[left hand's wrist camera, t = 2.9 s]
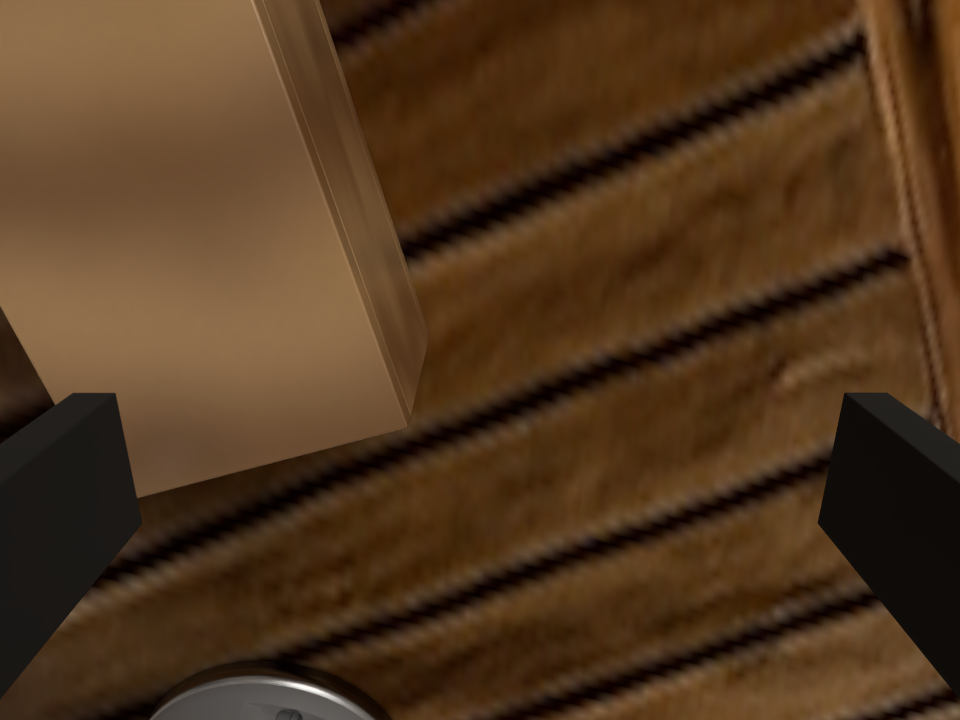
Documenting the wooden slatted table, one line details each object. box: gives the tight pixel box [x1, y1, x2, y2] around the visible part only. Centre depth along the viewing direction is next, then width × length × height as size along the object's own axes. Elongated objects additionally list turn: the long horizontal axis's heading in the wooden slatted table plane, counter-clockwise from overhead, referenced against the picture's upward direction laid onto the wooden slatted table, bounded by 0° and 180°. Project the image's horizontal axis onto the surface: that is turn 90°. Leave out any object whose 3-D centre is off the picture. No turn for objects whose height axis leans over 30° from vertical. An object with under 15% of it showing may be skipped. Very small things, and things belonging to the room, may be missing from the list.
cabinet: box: [0, 0, 429, 498], centre depth 23 cm, size 20×10×9 cm, turn 16°
